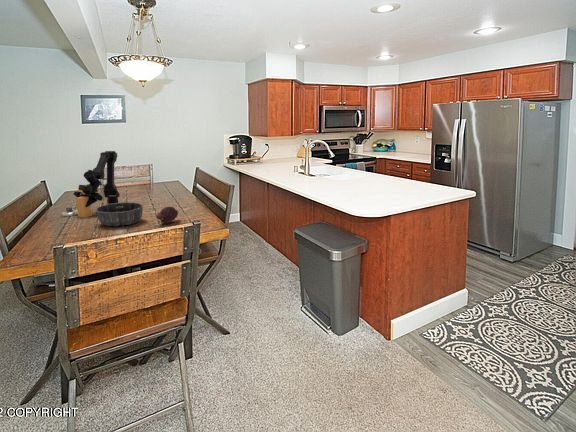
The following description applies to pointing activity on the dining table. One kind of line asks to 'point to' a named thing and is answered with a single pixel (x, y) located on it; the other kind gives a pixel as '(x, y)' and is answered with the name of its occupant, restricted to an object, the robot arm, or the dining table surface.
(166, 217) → the pine cone
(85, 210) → the orange rectangular block
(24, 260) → the dining table surface
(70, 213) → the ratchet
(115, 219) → the bundt pan
